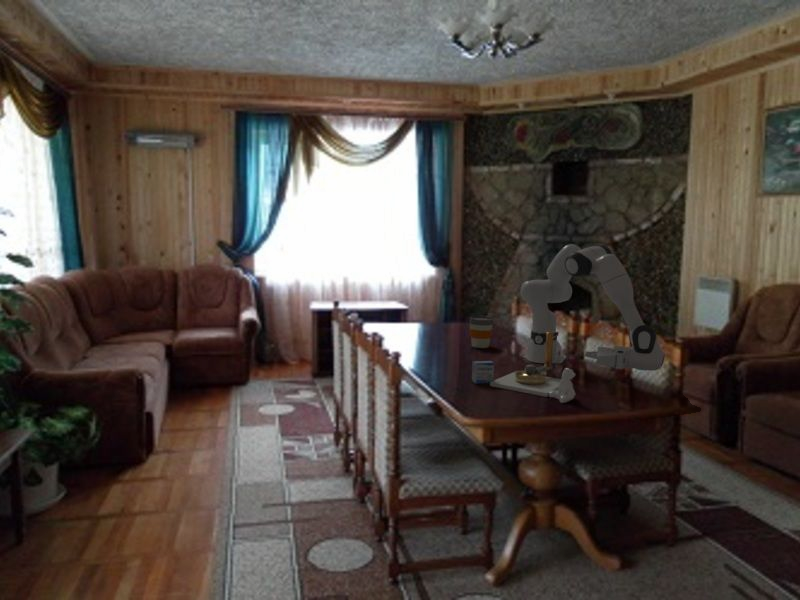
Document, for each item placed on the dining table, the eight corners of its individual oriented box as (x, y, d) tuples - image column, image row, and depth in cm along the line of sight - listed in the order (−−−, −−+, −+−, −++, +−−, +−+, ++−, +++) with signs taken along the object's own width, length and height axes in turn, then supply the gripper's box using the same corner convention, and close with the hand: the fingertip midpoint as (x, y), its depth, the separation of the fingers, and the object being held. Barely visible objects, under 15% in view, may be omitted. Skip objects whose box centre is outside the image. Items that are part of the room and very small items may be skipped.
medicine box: (475, 384, 248) (476, 363, 247) (471, 381, 252) (472, 360, 251) (493, 383, 250) (494, 362, 249) (489, 380, 254) (490, 360, 253)
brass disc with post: (535, 386, 240) (538, 340, 237) (509, 380, 248) (511, 336, 245) (562, 377, 255) (564, 334, 253) (536, 372, 264) (539, 330, 261)
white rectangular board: (515, 374, 265) (516, 356, 264) (569, 384, 251) (570, 365, 250) (489, 385, 246) (490, 366, 245) (546, 397, 232) (547, 376, 231)
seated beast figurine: (546, 396, 233) (548, 365, 231) (565, 394, 236) (567, 364, 234) (561, 403, 224) (563, 371, 222) (581, 401, 227) (583, 370, 226)
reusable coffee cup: (486, 349, 316) (487, 321, 314) (464, 346, 322) (465, 318, 320) (495, 345, 326) (497, 318, 324) (474, 342, 333) (475, 315, 331)
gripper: (620, 344, 258) (586, 342, 262) (621, 354, 239) (584, 351, 243) (619, 359, 259) (585, 356, 263) (620, 370, 240) (583, 366, 244)
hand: (585, 354), depth 253 cm, fingers closed
